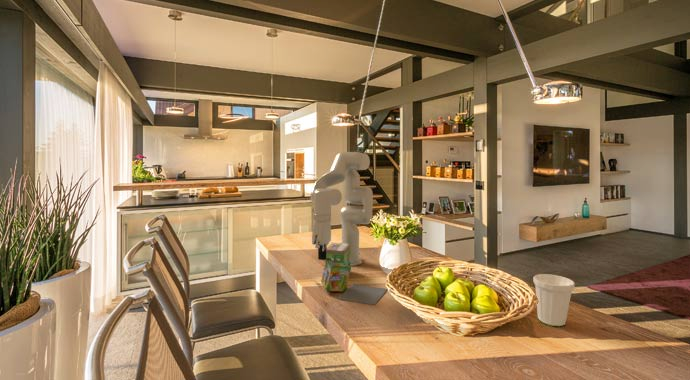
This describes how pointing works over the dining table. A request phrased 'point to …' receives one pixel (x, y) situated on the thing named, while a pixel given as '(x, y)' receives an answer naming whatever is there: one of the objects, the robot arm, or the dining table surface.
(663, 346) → the dining table surface
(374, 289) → the mat
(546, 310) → the cup
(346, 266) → the chalk box
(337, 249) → the tea box
